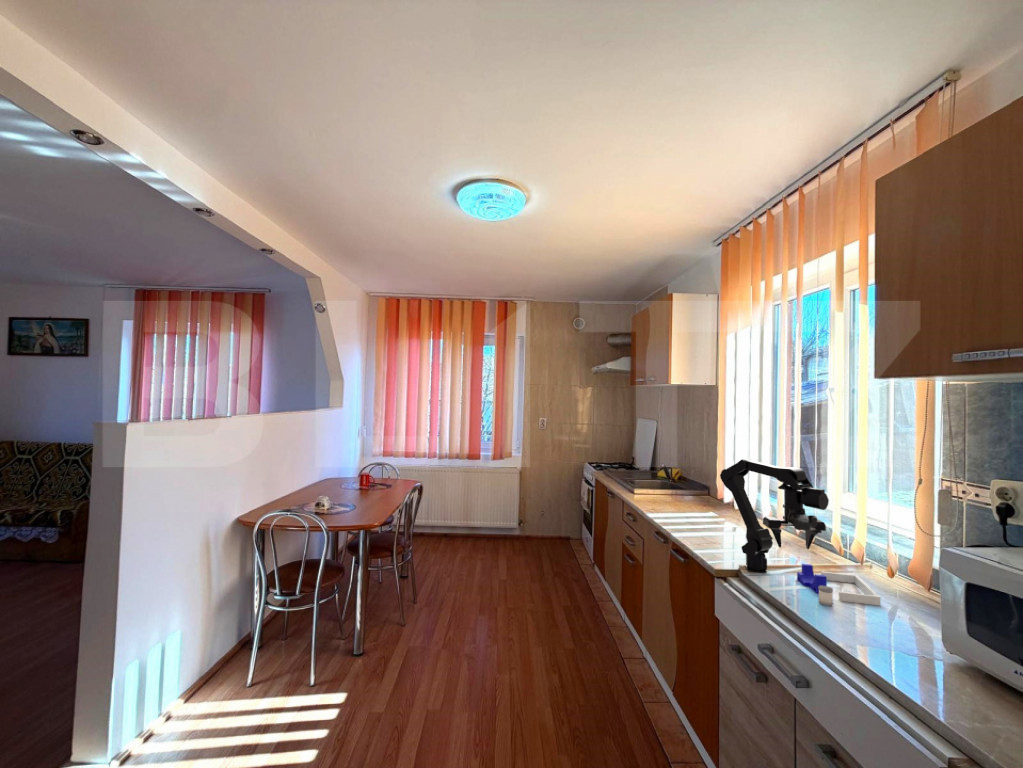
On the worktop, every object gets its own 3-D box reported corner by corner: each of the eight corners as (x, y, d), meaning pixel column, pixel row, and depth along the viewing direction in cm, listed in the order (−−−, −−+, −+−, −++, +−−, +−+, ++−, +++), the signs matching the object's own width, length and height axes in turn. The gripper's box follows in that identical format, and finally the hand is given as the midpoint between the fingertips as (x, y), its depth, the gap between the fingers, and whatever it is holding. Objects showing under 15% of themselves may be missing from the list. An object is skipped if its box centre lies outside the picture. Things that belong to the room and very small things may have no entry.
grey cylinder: (820, 605, 148) (820, 589, 148) (817, 600, 151) (816, 584, 152) (834, 607, 147) (834, 590, 147) (830, 602, 150) (830, 586, 150)
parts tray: (839, 600, 151) (839, 592, 152) (821, 578, 170) (821, 571, 170) (880, 605, 148) (880, 597, 148) (857, 582, 166) (857, 575, 167)
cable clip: (797, 580, 169) (797, 563, 169) (811, 581, 168) (810, 564, 168) (811, 593, 157) (811, 575, 157) (826, 595, 156) (826, 576, 156)
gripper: (775, 507, 160) (775, 554, 159) (834, 510, 157) (834, 557, 157) (762, 500, 171) (762, 543, 171) (817, 502, 168) (817, 546, 168)
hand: (793, 548), depth 166 cm, fingers open, 9 cm apart
